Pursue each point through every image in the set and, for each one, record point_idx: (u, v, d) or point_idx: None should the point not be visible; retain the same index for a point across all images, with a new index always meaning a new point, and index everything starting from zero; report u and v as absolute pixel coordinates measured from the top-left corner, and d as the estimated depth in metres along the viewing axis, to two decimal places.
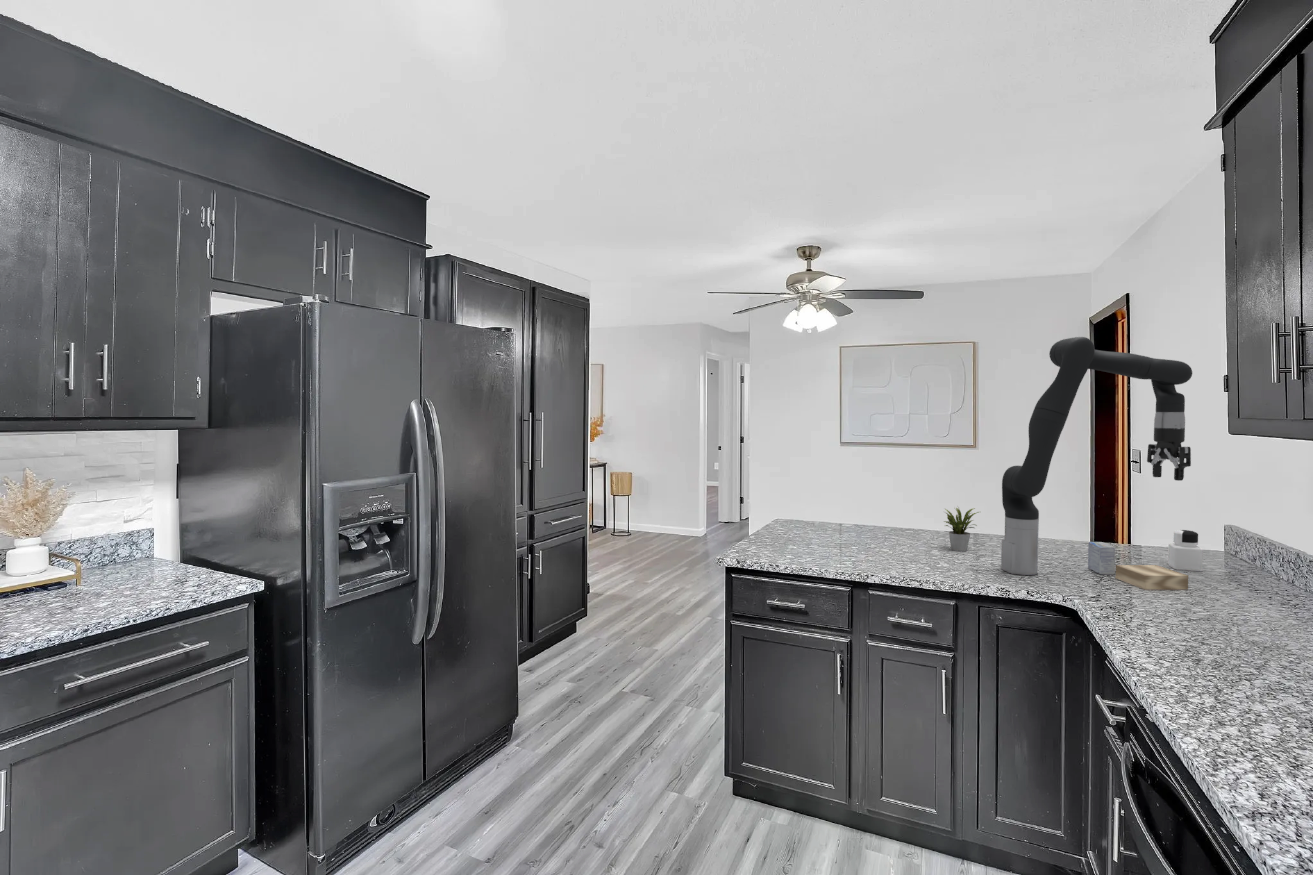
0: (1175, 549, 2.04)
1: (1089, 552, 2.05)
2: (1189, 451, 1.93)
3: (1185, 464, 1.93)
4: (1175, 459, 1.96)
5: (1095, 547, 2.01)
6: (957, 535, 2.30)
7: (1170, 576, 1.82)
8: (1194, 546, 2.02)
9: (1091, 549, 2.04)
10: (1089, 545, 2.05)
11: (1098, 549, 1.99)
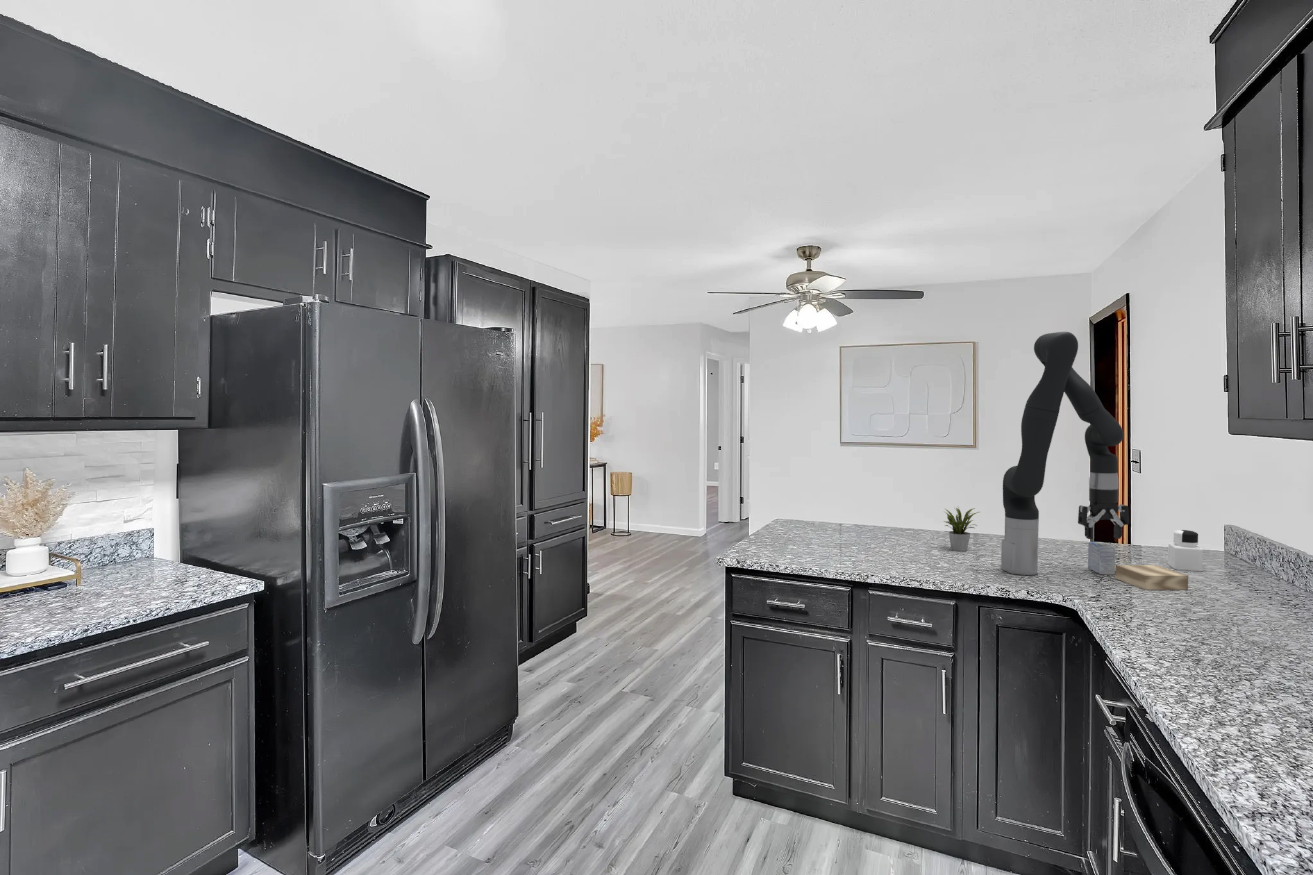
0: (1175, 549, 2.04)
1: (1089, 552, 2.05)
2: None
3: None
4: None
5: (1095, 547, 2.01)
6: (957, 535, 2.30)
7: (1170, 576, 1.82)
8: (1194, 546, 2.02)
9: (1091, 549, 2.04)
10: (1089, 545, 2.05)
11: (1098, 549, 1.99)
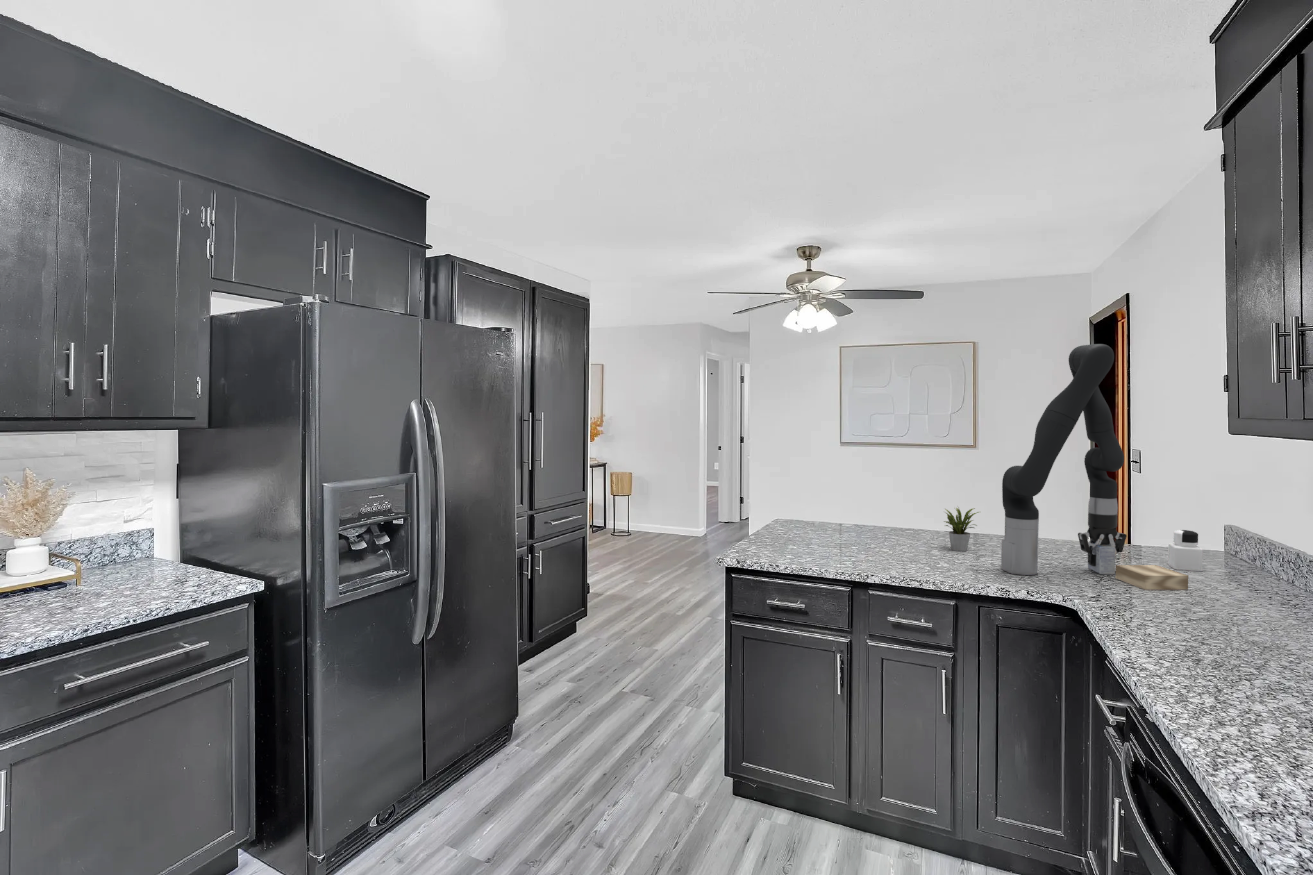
0: (1175, 549, 2.04)
1: None
2: None
3: None
4: None
5: None
6: (957, 535, 2.30)
7: (1170, 576, 1.82)
8: (1194, 546, 2.02)
9: None
10: None
11: (1098, 549, 1.99)
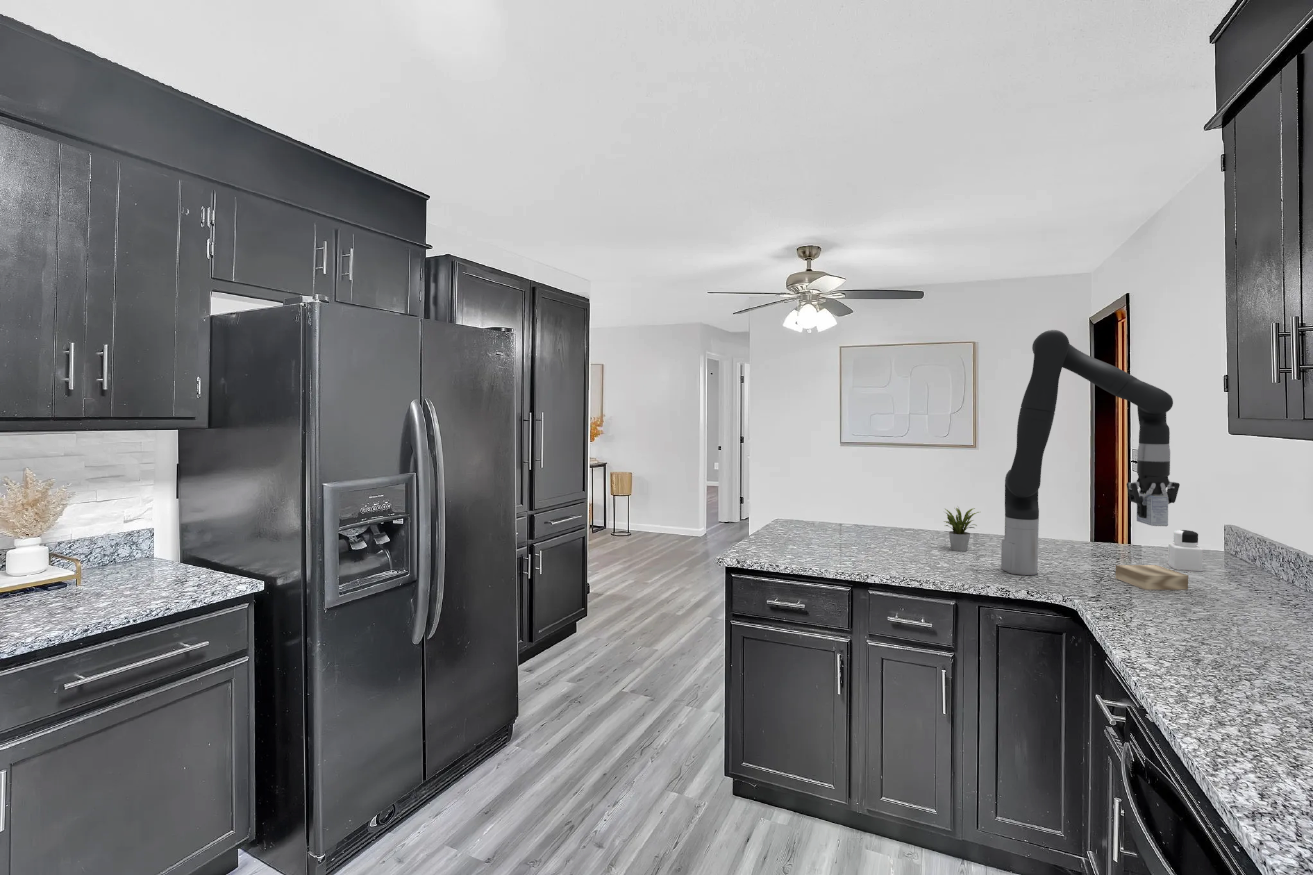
0: (1175, 549, 2.04)
1: None
2: None
3: None
4: None
5: None
6: (957, 535, 2.30)
7: (1170, 576, 1.82)
8: (1194, 546, 2.03)
9: None
10: None
11: (1149, 499, 1.84)
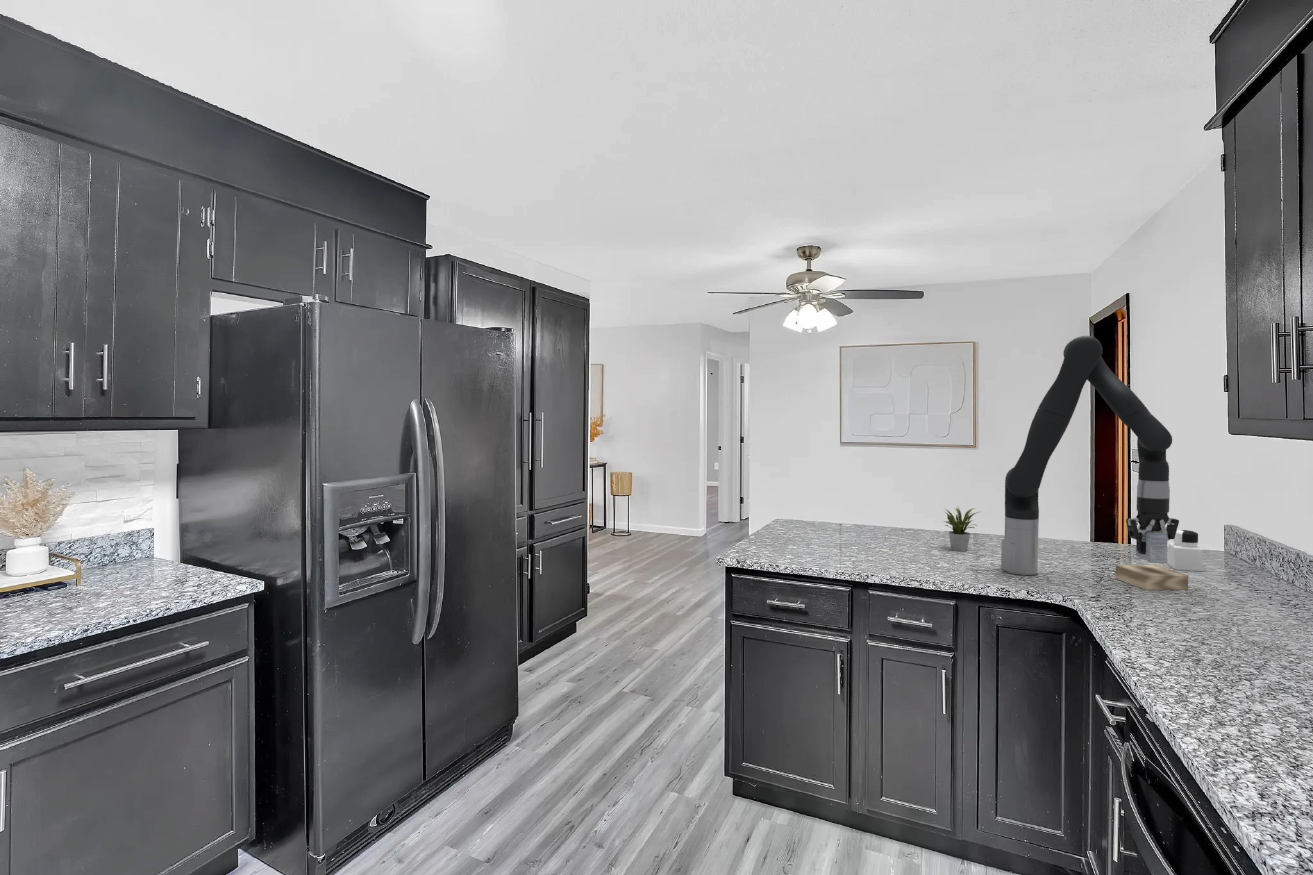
0: (1175, 549, 2.04)
1: None
2: None
3: None
4: None
5: None
6: (957, 535, 2.30)
7: (1170, 576, 1.82)
8: (1194, 546, 2.02)
9: None
10: None
11: (1149, 535, 1.85)
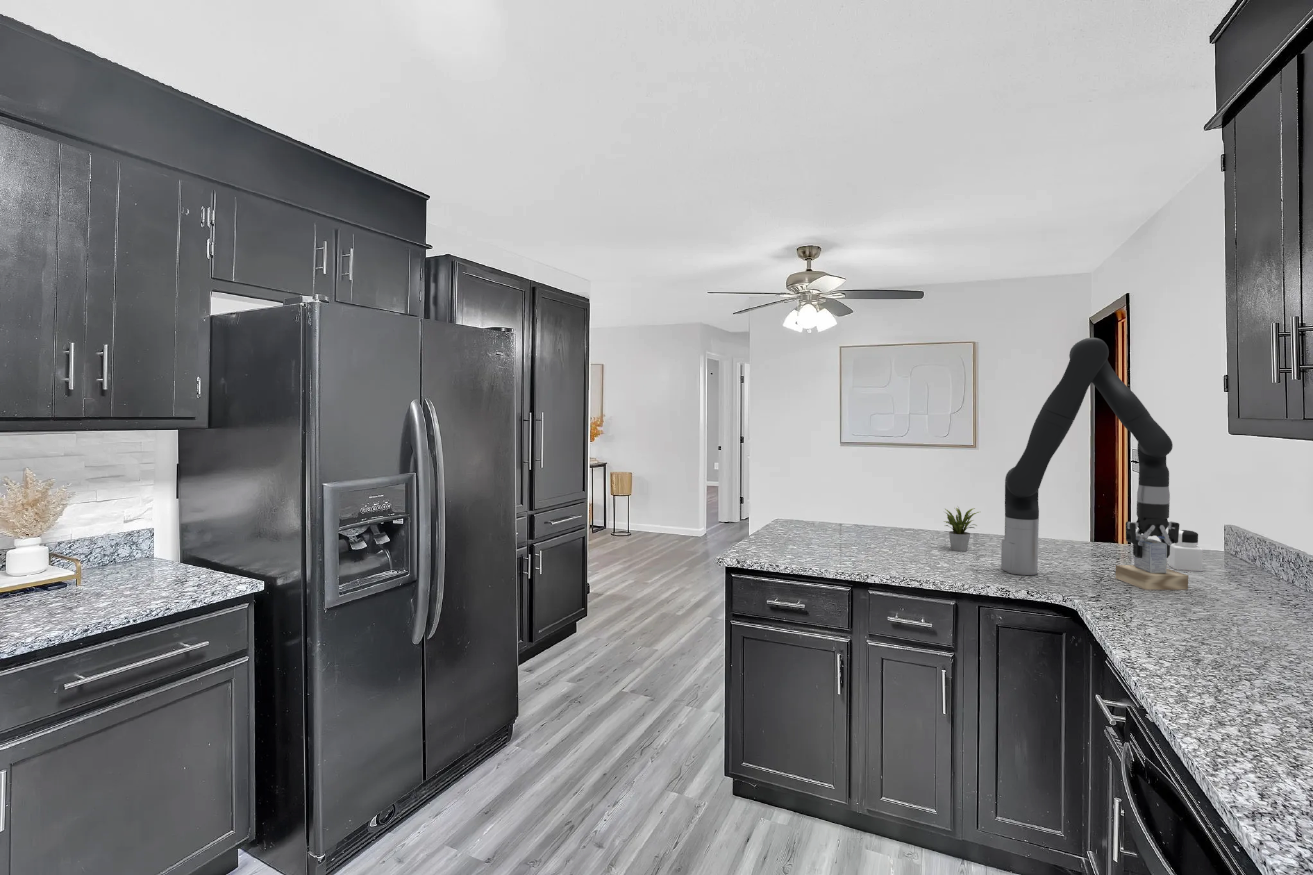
0: (1175, 549, 2.04)
1: None
2: None
3: None
4: None
5: (1144, 544, 1.87)
6: (957, 535, 2.30)
7: (1170, 576, 1.82)
8: (1194, 546, 2.02)
9: None
10: None
11: (1148, 546, 1.85)
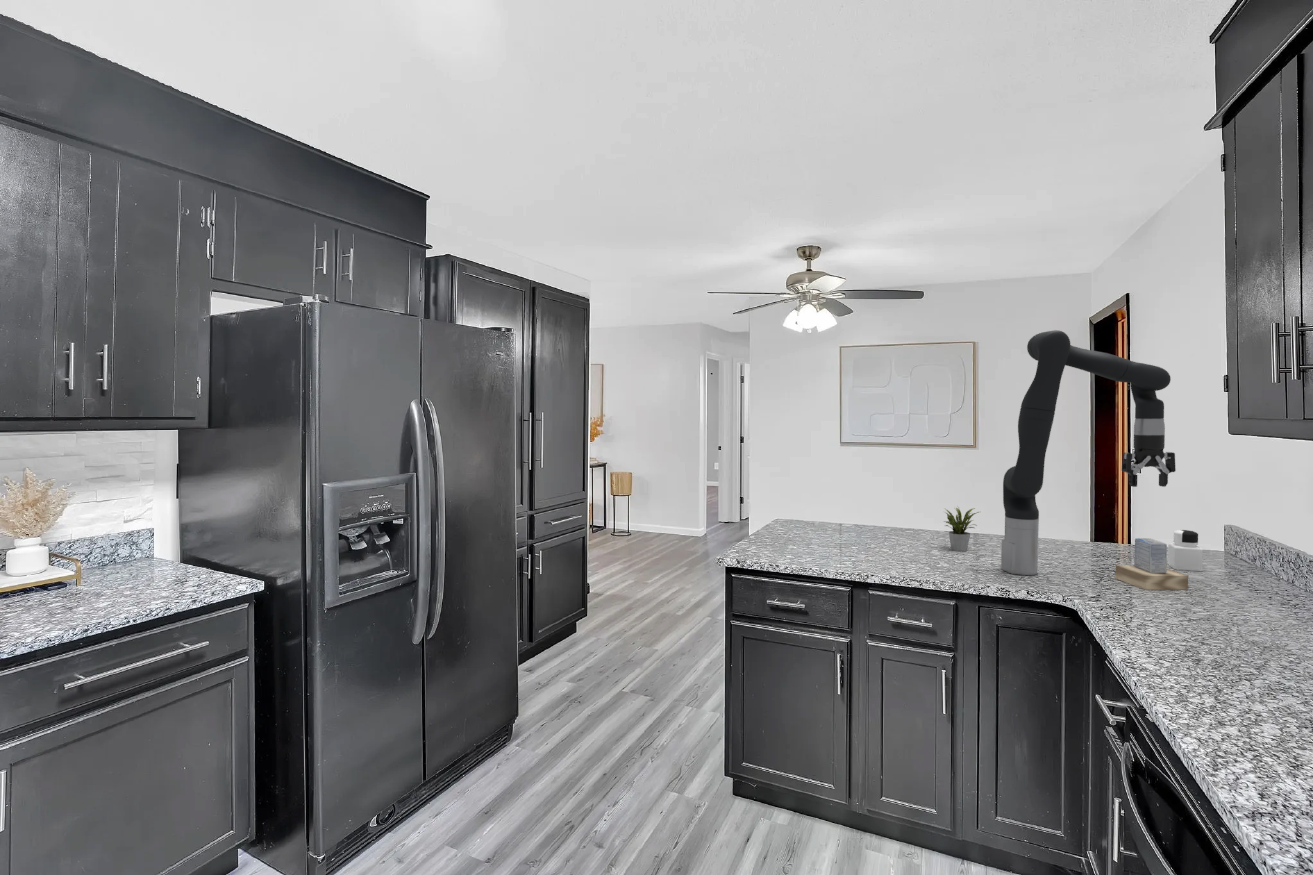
0: (1175, 549, 2.04)
1: (1136, 549, 1.91)
2: None
3: None
4: None
5: (1144, 544, 1.87)
6: (957, 535, 2.30)
7: (1170, 576, 1.82)
8: (1194, 546, 2.03)
9: (1139, 546, 1.89)
10: (1136, 541, 1.91)
11: (1148, 546, 1.85)
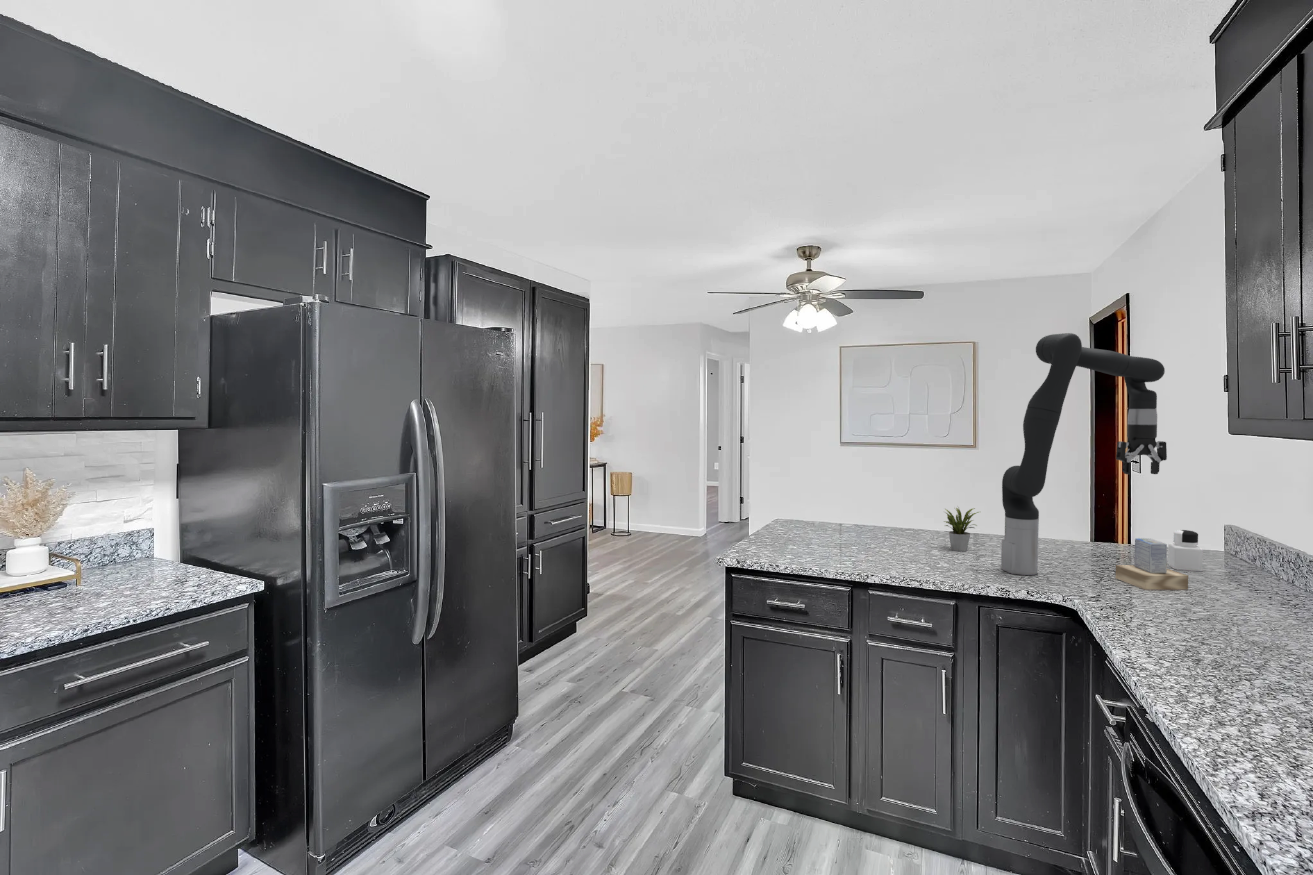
0: (1175, 549, 2.04)
1: (1136, 549, 1.91)
2: None
3: None
4: None
5: (1144, 544, 1.87)
6: (957, 535, 2.30)
7: (1170, 576, 1.82)
8: (1194, 546, 2.02)
9: (1139, 546, 1.89)
10: (1136, 541, 1.91)
11: (1148, 546, 1.85)
